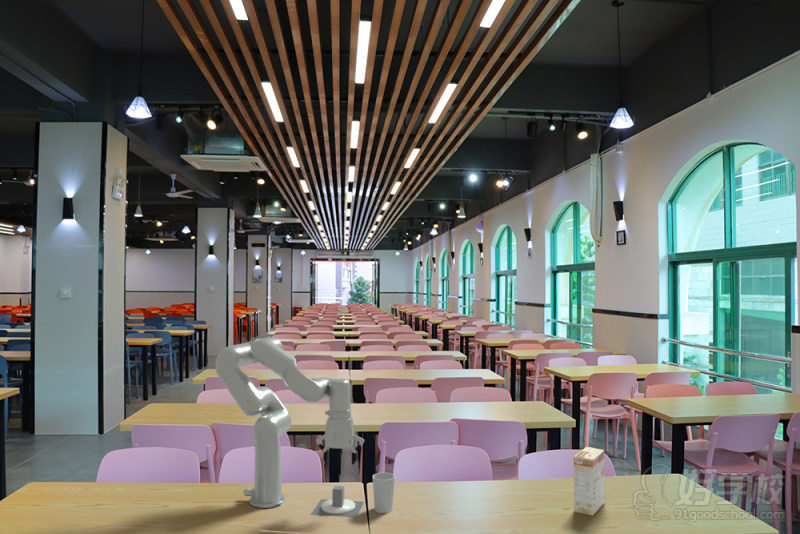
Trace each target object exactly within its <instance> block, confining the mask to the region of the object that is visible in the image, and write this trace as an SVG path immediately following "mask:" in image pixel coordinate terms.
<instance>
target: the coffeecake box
mask: <svg viewBox="0 0 800 534" xmlns="http://www.w3.org/2000/svg"><path fill="white" fill-rule="evenodd" d="M605 503H606V500H605V450H604V449H600V448H595V447H589V446H585V447H584V448H583V449H581V450H580V451H579V452H578V453H576V454H575V455H574V456H573V512H575V513H579V514H584V515H588V516H592V517H593V516H594V515H595V514H596V513H597V512H598V511H599V510H601V508H602V506H604V505H605Z"/></svg>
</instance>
